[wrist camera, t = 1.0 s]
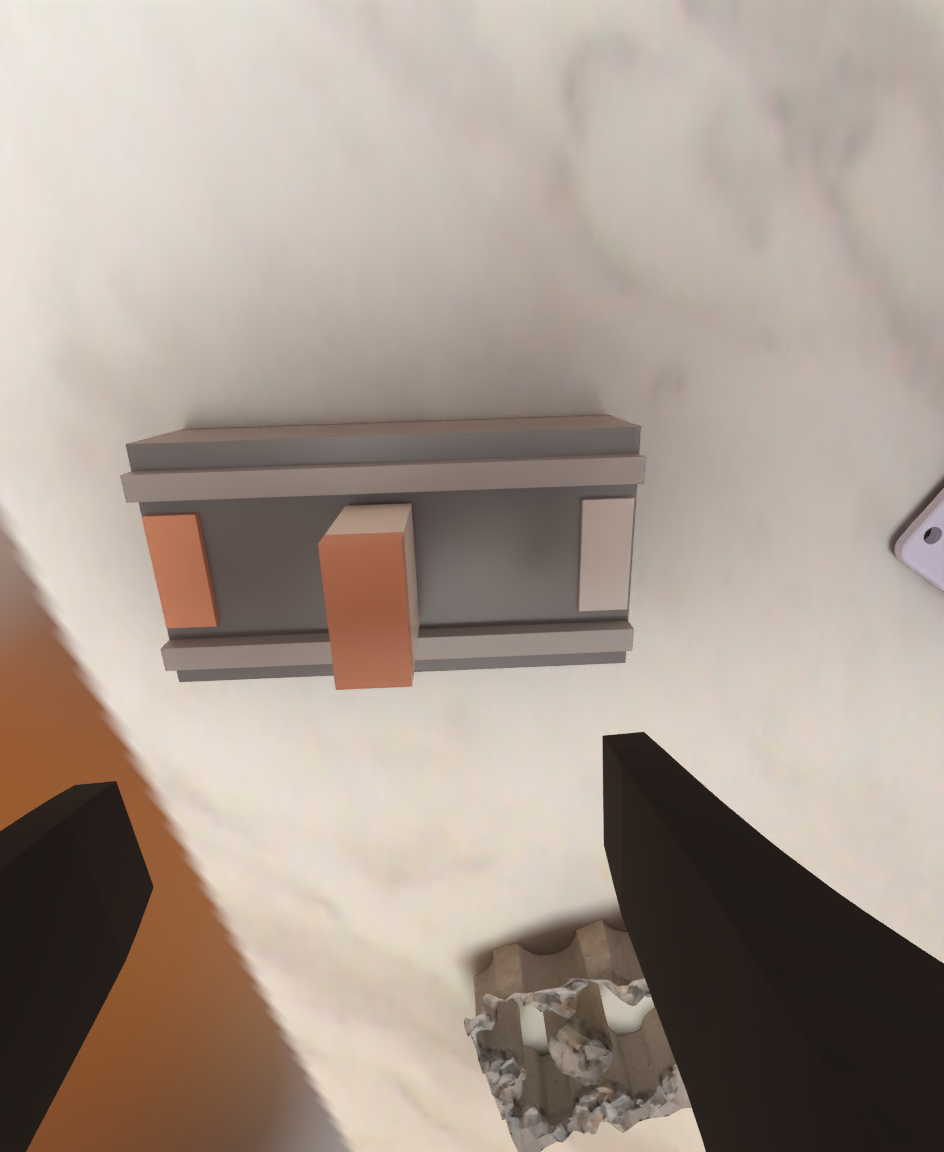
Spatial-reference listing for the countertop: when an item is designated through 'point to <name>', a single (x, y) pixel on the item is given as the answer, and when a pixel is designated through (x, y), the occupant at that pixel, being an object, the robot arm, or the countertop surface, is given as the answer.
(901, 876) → the countertop surface
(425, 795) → the countertop surface
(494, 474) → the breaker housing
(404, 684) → the breaker handle
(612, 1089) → the egg carton
